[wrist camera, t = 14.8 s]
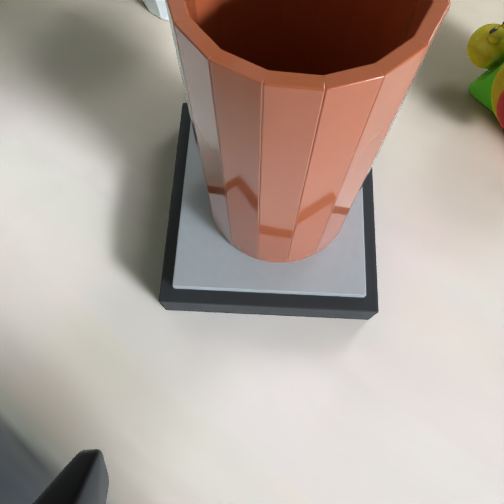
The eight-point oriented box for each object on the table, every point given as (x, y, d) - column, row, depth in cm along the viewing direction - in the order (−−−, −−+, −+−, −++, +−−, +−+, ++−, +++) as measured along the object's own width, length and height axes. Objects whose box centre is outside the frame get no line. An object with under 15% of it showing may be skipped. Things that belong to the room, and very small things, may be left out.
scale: (369, 320, 24) (381, 310, 22) (165, 309, 24) (156, 299, 22) (361, 130, 28) (371, 104, 26) (187, 123, 28) (181, 96, 26)
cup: (309, 288, 22) (379, 137, 10) (183, 222, 23) (106, 13, 11) (370, 173, 24) (490, -69, 12) (252, 118, 25) (251, -154, 13)
